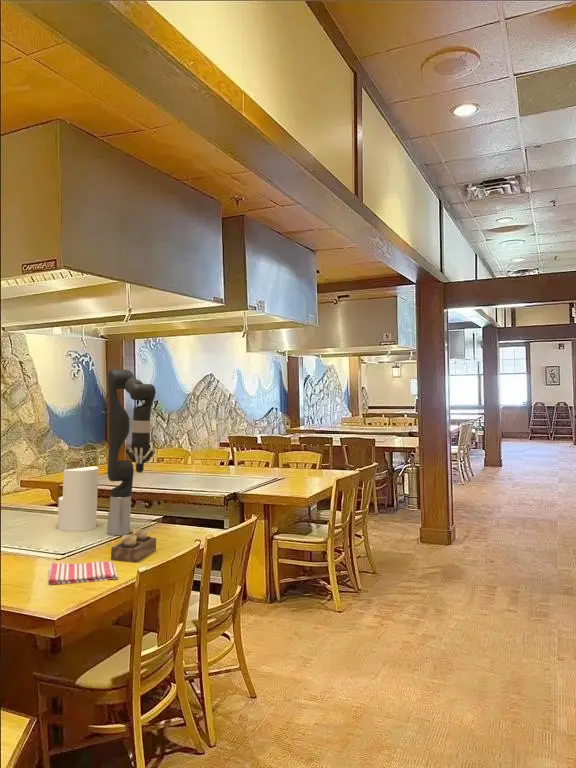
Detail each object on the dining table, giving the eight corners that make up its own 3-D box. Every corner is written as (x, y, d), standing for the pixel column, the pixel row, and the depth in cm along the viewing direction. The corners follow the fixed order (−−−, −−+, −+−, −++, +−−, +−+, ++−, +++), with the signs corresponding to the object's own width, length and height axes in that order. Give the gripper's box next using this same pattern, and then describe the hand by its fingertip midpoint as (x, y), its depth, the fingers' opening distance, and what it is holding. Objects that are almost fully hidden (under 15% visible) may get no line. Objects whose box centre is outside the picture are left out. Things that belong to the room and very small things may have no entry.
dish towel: (48, 571, 221) (49, 562, 221) (114, 566, 229) (114, 557, 229) (48, 587, 205) (48, 576, 205) (118, 581, 213) (119, 571, 213)
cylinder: (104, 526, 287) (106, 468, 286) (73, 533, 272) (75, 472, 272) (80, 521, 296) (82, 464, 296) (49, 527, 281) (51, 467, 281)
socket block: (110, 559, 236) (111, 545, 236) (131, 547, 253) (131, 534, 253) (137, 562, 234) (137, 548, 234) (155, 549, 251) (156, 536, 251)
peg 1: (118, 559, 236) (119, 537, 236) (125, 555, 242) (126, 534, 242) (131, 560, 235) (132, 538, 235) (138, 556, 241) (138, 535, 241)
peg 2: (130, 552, 246) (130, 531, 246) (136, 548, 252) (136, 528, 252) (142, 553, 245) (143, 532, 245) (148, 550, 251) (149, 529, 251)
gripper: (122, 431, 250) (120, 472, 250) (152, 432, 248) (150, 474, 248) (130, 429, 258) (129, 470, 258) (159, 431, 255) (158, 472, 255)
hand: (139, 472), depth 253 cm, fingers closed
